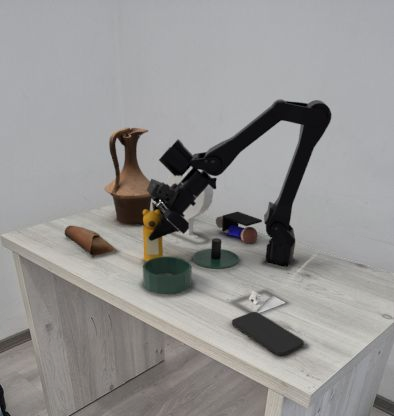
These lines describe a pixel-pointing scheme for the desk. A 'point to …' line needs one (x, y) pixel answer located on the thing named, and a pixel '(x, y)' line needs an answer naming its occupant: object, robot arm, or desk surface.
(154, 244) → the toy
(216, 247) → the pot lid
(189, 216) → the heart sculpture
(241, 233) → the figurine character
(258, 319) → the phone
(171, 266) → the pot
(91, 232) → the sunglasses case
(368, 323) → the desk surface
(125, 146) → the pitcher
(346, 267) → the desk surface
